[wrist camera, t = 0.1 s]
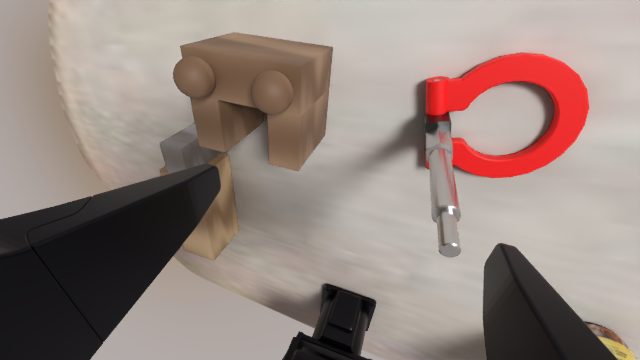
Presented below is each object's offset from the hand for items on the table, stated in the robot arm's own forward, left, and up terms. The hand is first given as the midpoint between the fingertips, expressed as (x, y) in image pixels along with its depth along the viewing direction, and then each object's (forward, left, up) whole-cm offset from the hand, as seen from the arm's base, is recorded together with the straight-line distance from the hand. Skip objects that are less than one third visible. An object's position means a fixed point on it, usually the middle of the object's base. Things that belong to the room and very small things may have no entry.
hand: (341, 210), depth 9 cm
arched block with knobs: (-2, +9, -15) cm, 17 cm away
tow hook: (-1, -7, -15) cm, 17 cm away
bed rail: (-14, +17, -15) cm, 26 cm away
